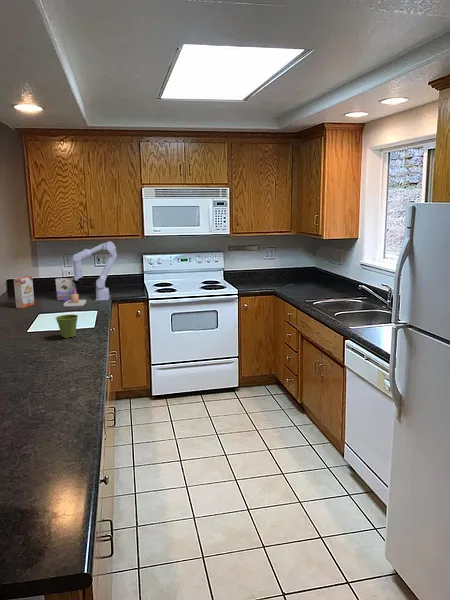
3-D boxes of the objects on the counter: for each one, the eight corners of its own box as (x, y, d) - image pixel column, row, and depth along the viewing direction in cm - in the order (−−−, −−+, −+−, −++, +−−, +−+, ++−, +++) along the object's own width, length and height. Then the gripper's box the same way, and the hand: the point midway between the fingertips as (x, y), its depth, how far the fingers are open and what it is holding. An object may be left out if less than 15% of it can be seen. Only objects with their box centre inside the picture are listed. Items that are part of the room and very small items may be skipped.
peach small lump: (79, 302, 354) (79, 293, 353) (78, 304, 350) (77, 294, 348) (72, 303, 354) (72, 293, 353) (71, 304, 349) (70, 294, 348)
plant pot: (71, 332, 275) (70, 313, 273) (84, 336, 268) (82, 316, 265) (52, 337, 266) (50, 317, 264) (65, 341, 259) (63, 320, 257)
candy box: (77, 299, 371) (75, 277, 368) (74, 300, 365) (72, 278, 362) (60, 299, 372) (58, 277, 369) (56, 300, 367) (54, 279, 363)
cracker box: (23, 308, 340) (20, 279, 336) (16, 308, 342) (12, 278, 337) (35, 304, 354) (32, 276, 350) (27, 304, 355) (24, 275, 351)
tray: (86, 302, 359) (86, 299, 358) (82, 306, 346) (82, 303, 346) (68, 302, 358) (67, 300, 357) (63, 306, 345) (63, 303, 345)
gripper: (74, 269, 366) (76, 287, 369) (69, 271, 352) (71, 290, 354) (84, 268, 366) (85, 286, 369) (79, 271, 352) (81, 290, 355)
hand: (79, 288), depth 362 cm, fingers open, 7 cm apart
